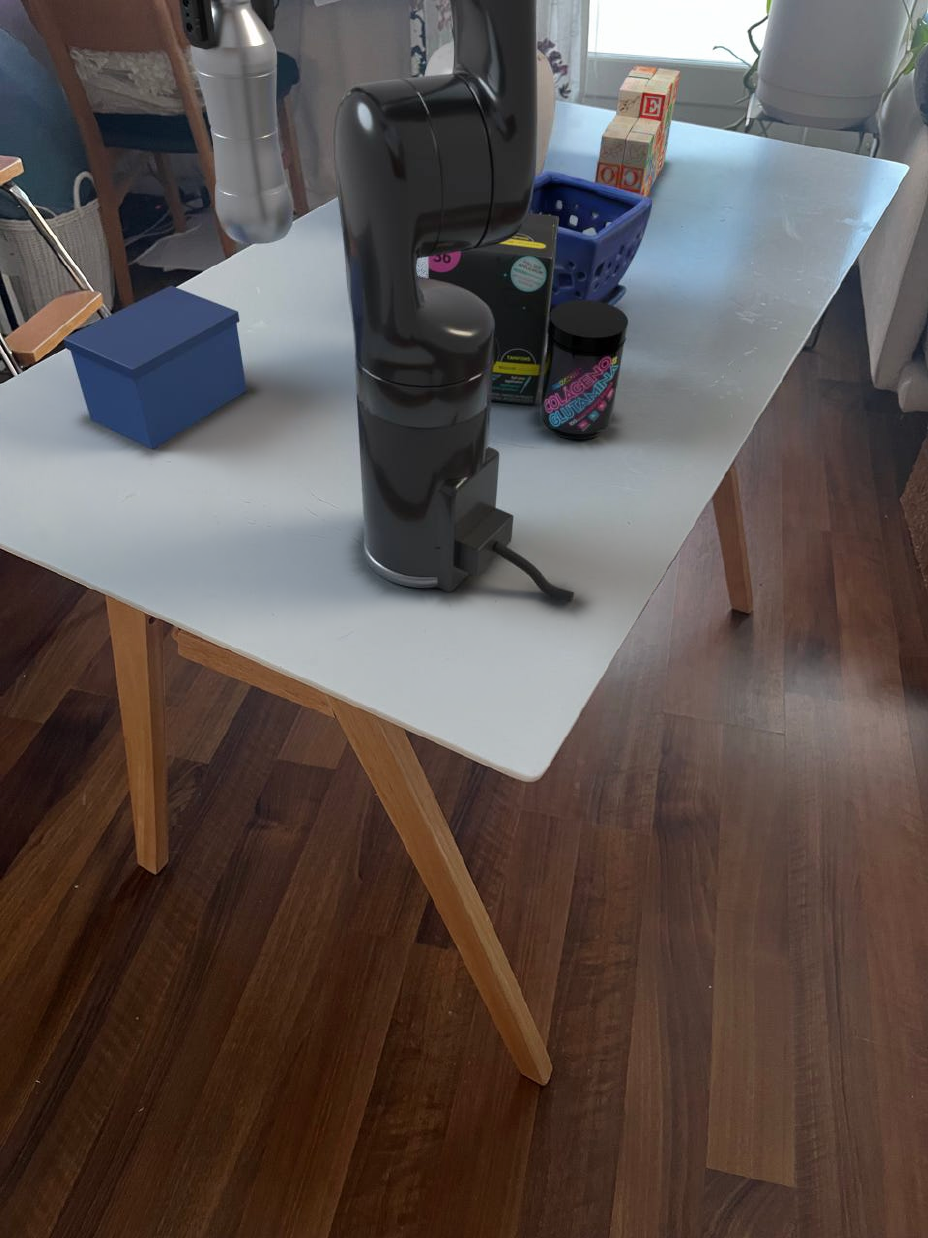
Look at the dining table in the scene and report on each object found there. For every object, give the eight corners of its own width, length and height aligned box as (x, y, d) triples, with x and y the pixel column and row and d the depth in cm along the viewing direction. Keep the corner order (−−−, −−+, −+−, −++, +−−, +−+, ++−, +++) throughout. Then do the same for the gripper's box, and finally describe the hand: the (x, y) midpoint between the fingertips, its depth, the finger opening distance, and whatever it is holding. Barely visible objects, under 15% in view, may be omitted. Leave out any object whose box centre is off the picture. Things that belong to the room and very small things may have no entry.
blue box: (250, 390, 89) (238, 311, 83) (152, 451, 82) (132, 368, 76) (186, 363, 92) (171, 284, 86) (87, 419, 85) (62, 338, 79)
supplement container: (524, 424, 87) (534, 319, 79) (563, 394, 90) (576, 292, 83) (585, 451, 84) (602, 345, 76) (624, 419, 88) (643, 316, 80)
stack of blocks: (637, 218, 121) (654, 115, 112) (590, 211, 122) (603, 108, 114) (664, 163, 136) (681, 68, 127) (622, 157, 137) (635, 62, 128)
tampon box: (424, 394, 90) (424, 243, 79) (439, 347, 96) (441, 202, 86) (538, 407, 89) (553, 255, 78) (545, 358, 95) (561, 212, 85)
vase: (542, 197, 125) (560, -3, 109) (547, 248, 114) (568, 33, 98) (424, 192, 125) (424, -9, 109) (417, 242, 114) (417, 26, 98)
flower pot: (582, 354, 96) (598, 239, 88) (474, 317, 101) (479, 205, 92) (638, 306, 104) (657, 196, 96) (534, 273, 109) (544, 166, 100)
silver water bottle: (282, 257, 80) (253, -19, 66) (207, 247, 81) (163, -27, 67) (305, 227, 85) (283, -37, 71) (235, 219, 86) (199, -45, 72)
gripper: (153, -256, 54) (201, 68, 66) (313, -259, 63) (330, 28, 75) (66, -264, 57) (127, 49, 69) (231, -266, 66) (260, 12, 78)
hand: (233, 37), depth 72 cm, fingers closed on silver water bottle, 6 cm apart
